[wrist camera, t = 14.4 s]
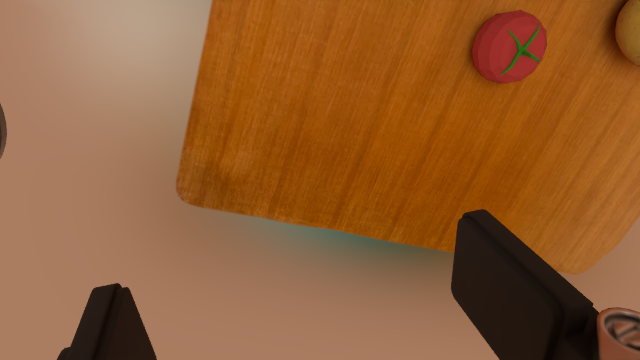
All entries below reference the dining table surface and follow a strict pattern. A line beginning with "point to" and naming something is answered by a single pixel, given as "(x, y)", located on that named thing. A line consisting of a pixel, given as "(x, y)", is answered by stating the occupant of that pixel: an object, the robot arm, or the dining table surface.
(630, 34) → the fruit
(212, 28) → the dining table surface
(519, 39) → the tomato
